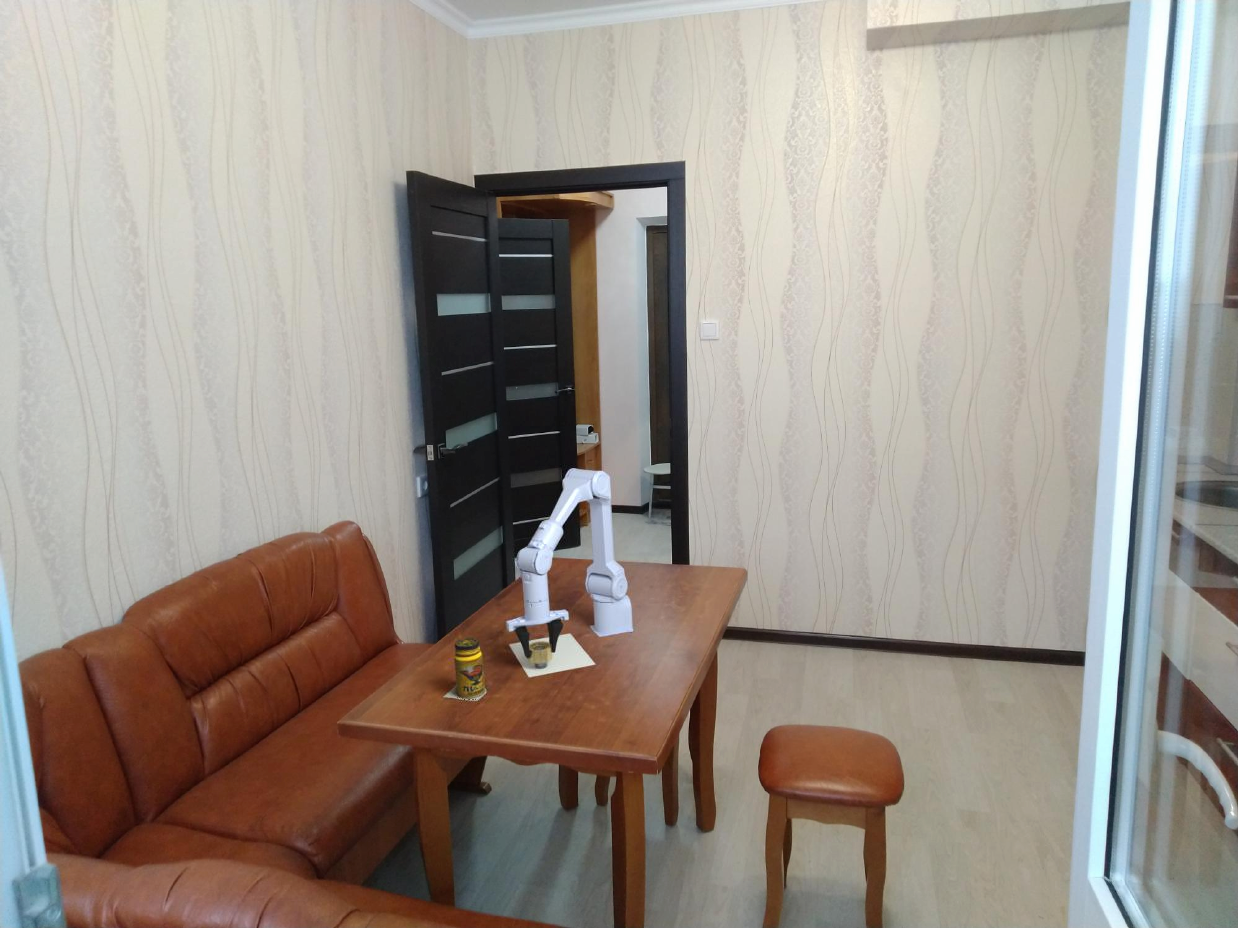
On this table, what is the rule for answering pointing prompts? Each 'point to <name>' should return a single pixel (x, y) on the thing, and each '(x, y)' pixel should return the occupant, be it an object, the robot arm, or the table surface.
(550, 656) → the ring
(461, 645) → the condiment
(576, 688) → the table surface
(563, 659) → the mat
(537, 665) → the piston
